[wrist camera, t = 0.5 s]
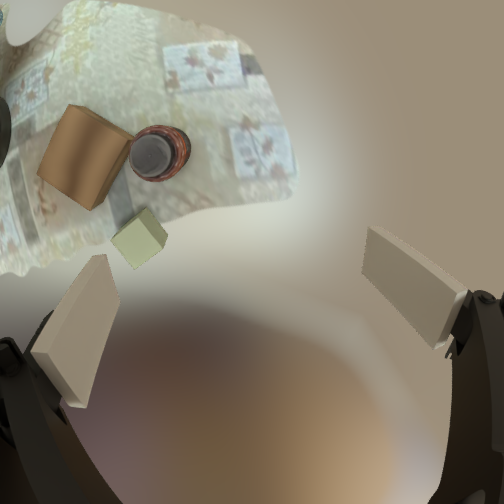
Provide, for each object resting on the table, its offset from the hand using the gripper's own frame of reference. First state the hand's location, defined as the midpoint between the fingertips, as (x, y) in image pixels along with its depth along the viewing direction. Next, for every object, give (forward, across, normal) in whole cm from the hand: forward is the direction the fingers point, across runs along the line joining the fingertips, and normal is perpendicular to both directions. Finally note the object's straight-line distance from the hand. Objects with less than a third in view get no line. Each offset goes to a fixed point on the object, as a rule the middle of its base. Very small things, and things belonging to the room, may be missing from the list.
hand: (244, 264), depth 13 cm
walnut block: (+25, -17, +6) cm, 31 cm away
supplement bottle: (+25, -6, +5) cm, 26 cm away
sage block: (+25, -11, -6) cm, 28 cm away
